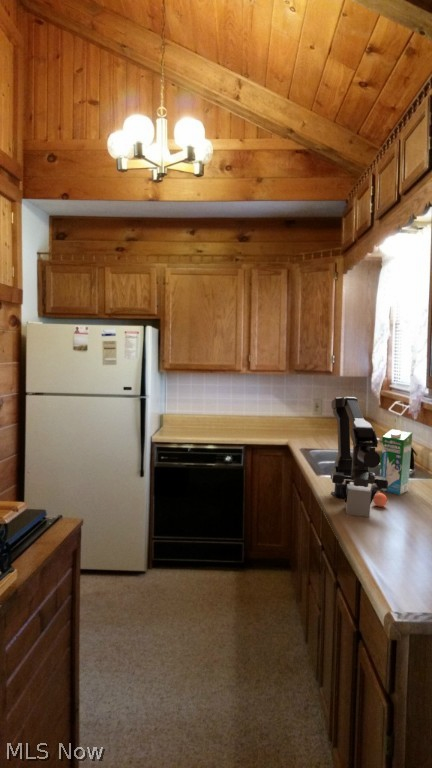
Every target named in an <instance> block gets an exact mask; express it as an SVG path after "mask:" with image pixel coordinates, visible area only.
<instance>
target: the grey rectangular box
mask: <svg viewBox="0 0 432 768" xmlns="http://www.w3.org/2000/svg"><path fill="white" fill-rule="evenodd" d="M346 493H347V503H346V502H345V513H346V515H349V516H350V515H351V516H358V517H368V518H369V517H370V513H371V505H370V502H371V486H370V485H368V487H363V486H355V485H354V483H352V484H351V483H350V484H347V492H346ZM371 503H372V502H371Z"/></svg>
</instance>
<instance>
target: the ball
mask: <svg viewBox="0 0 432 768" xmlns="http://www.w3.org/2000/svg"><path fill="white" fill-rule="evenodd" d="M372 503H374V505H375V506H377V507H379V508H380V507H381V508H382V507H384V506H386V505H387V503H388V498H387V496H386V495H385V494H384V493H382V492H377V493H376V494H375V496H374V498H373V500H372Z"/></svg>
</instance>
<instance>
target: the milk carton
mask: <svg viewBox="0 0 432 768" xmlns="http://www.w3.org/2000/svg"><path fill="white" fill-rule="evenodd" d="M412 442H413V432H411V431H410V432H409V431H406V430H405V431H403V430H398V429H390V430H389V431H387V432H386V433H385V434H384V435H383V436H382V438H381V449H380V463H379V475H378V476H380V477H385V478H386V479H387V481H388V488H387V489H385V488H382V490H383V491H382V490H381V491H382V492H386V491H387V493H391V494H394V495H398V496H401V495H402V494H404V493H406V492H408V491H409V481H410V480H409V479H410V468H411V467H410V466H411V457H412V456H411V454H412V444H413V443H412Z"/></svg>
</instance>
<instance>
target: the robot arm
mask: <svg viewBox="0 0 432 768" xmlns="http://www.w3.org/2000/svg"><path fill="white" fill-rule="evenodd" d="M359 406H360V405H359V404H358V398H357V397H355V396H344V397H334V399H332V401H331V409H332V414H333V415H334V417H335V418H336V421H337V423H336V425H337V450H338V452H337V453H338V454H337V455H338V456H337V457H336V459H335V461H334V462H333V463H334V465H333V467H332V469H331V472H330V480H331V481H332V483H333V484H334V491H330V493H331V494H332V495H333V496H334V497H335V498H336V499H344V502H345V504H346V503H347V493H346V492H347V484H351V483H353V484H354V485H355V486H363V487H368V486H369V484H370V490H371V502H370V506H371V505H372V503H373V498H374V496H375V494H377V493H379V491H382V488H385V489H387V488H388V481H387V479H386V478H385V477H380V476H379V475H378V476H377V475H376V474H375V472H369V470H370V469H373V468H374V469H375V468H377V467H378V466H380V462H381V455H380V454H379V453H378V452H377V451H376V448H378V444H379V441H378V438H377V435H376V431H375V429H374V427H373V426H372V424H371V423H370V422H369V421H367V420H365V418H364V416H363V413H362V411H361V408H360V407H359ZM350 424H351V427H350ZM350 429H351V430H350ZM351 441H352V447H353V448H352V453H351ZM351 454H352V456H351ZM369 468H370V469H369Z"/></svg>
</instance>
